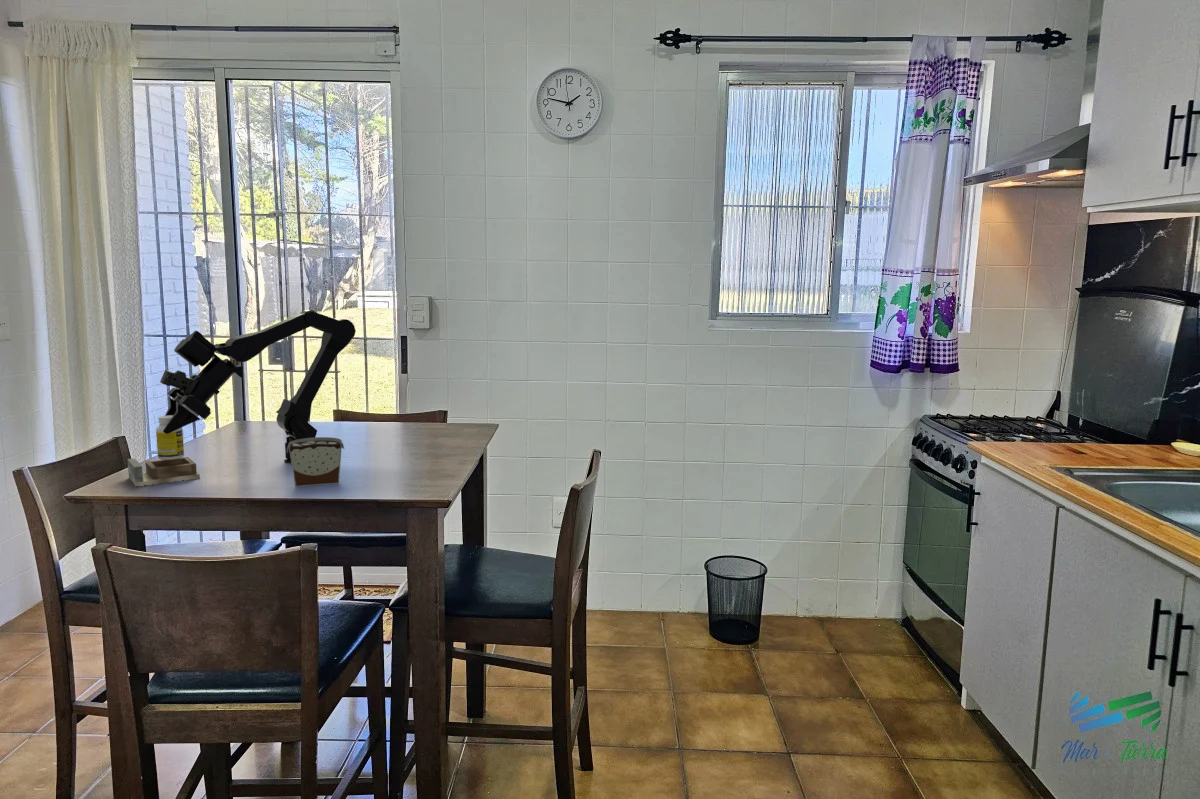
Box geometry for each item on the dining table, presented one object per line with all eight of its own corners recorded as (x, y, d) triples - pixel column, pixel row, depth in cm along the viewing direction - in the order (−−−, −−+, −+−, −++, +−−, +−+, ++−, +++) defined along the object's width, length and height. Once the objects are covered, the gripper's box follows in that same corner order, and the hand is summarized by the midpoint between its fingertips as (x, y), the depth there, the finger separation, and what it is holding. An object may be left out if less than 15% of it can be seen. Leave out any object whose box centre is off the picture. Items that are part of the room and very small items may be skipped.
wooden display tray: (190, 470, 190) (189, 452, 190) (199, 478, 183) (198, 459, 182) (128, 477, 182) (127, 459, 182) (135, 486, 175) (134, 467, 174)
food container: (344, 476, 186) (342, 435, 184) (345, 483, 180) (344, 440, 179) (288, 481, 181) (286, 438, 180) (288, 487, 176) (286, 443, 174)
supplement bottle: (181, 459, 181) (178, 417, 180) (155, 461, 180) (151, 419, 178) (186, 454, 186) (183, 414, 185) (161, 455, 185) (157, 415, 183)
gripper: (173, 354, 189) (125, 403, 184) (190, 360, 175) (138, 414, 169) (211, 383, 195) (166, 432, 190) (231, 392, 181) (182, 445, 176)
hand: (162, 430), depth 181 cm, fingers closed on supplement bottle, 5 cm apart
